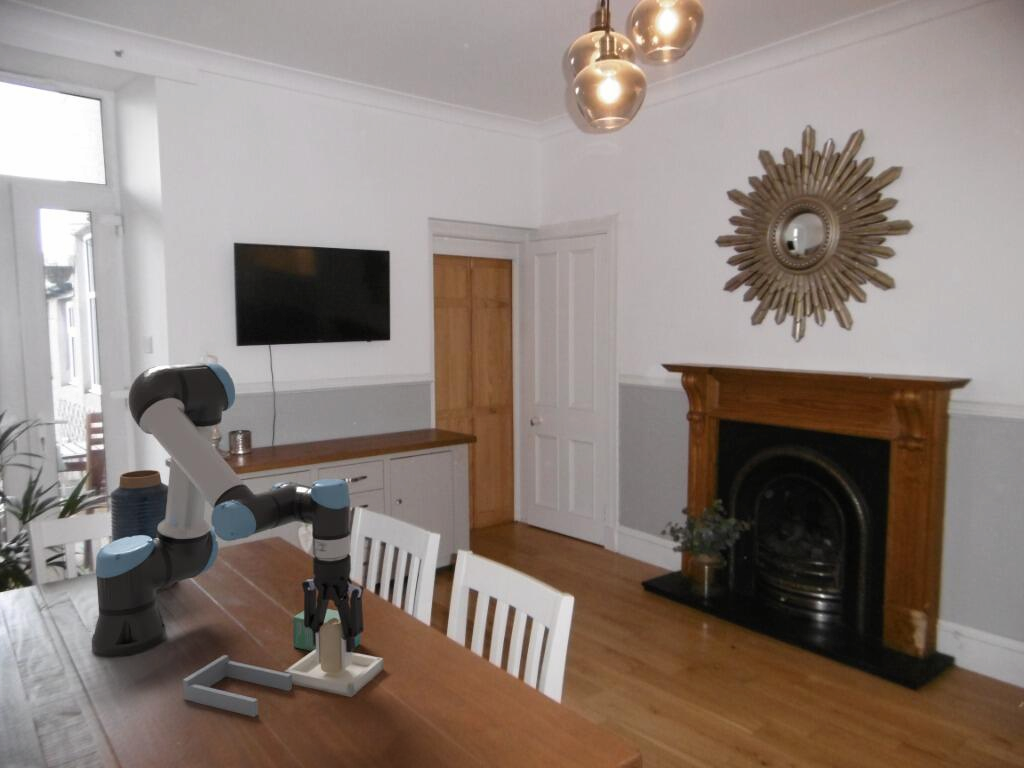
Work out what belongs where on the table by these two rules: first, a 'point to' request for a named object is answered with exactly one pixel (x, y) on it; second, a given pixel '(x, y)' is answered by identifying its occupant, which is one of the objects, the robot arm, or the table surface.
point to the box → (305, 635)
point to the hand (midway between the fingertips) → (334, 662)
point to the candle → (331, 646)
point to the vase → (138, 506)
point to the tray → (336, 674)
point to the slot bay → (217, 670)
